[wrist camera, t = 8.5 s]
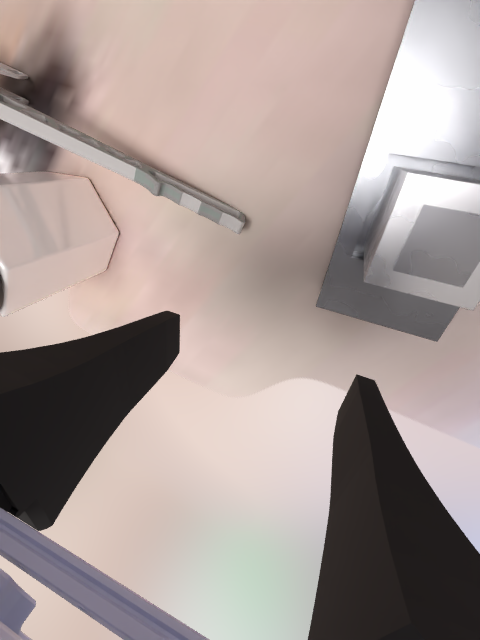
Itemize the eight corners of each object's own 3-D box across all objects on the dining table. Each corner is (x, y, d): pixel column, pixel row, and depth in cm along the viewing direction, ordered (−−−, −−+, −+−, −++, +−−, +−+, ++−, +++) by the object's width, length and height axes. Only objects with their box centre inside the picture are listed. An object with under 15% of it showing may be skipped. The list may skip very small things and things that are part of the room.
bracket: (-59, 20, 18) (-253, -12, 11) (243, 164, 25) (253, 206, 17) (-48, 80, 20) (-206, 88, 12) (229, 199, 26) (233, 250, 19)
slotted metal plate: (954, -548, 6) (1259, -910, 4) (429, 320, 18) (437, 341, 16) (555, -434, 8) (625, -649, 5) (320, 290, 20) (315, 306, 18)
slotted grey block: (483, 180, 13) (555, 197, 8) (439, 260, 15) (475, 312, 10) (393, 165, 14) (409, 173, 9) (363, 243, 16) (363, 283, 11)
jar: (53, 258, 28) (-109, 313, 18) (26, 166, 24) (-205, 175, 14) (127, 277, 26) (-15, 352, 16) (112, 179, 21) (-95, 200, 12)
